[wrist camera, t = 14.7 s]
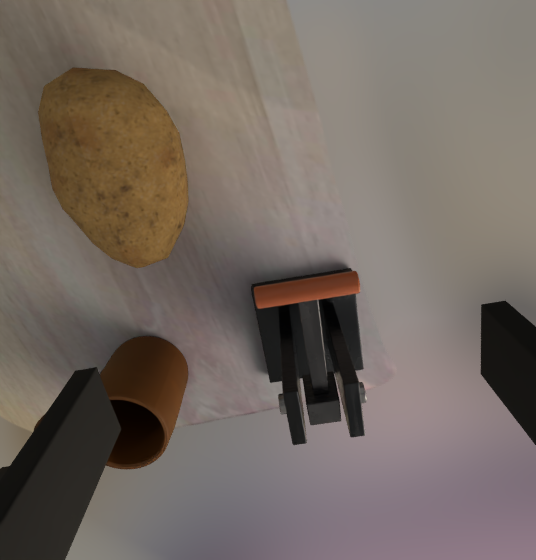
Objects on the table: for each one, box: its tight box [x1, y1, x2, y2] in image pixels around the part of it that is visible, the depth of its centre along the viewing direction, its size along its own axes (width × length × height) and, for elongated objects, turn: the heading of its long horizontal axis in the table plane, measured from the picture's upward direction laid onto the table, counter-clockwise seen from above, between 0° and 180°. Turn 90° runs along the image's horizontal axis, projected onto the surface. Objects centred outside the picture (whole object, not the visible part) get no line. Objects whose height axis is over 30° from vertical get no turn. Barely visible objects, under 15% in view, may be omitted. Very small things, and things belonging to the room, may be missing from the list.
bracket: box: [251, 268, 366, 445], centre depth 35 cm, size 10×9×13 cm
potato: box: [38, 68, 188, 268], centre depth 32 cm, size 10×14×8 cm
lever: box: [254, 271, 360, 425], centre depth 27 cm, size 13×6×2 cm, turn 10°
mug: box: [34, 336, 188, 469], centre depth 38 cm, size 12×8×9 cm, turn 101°
